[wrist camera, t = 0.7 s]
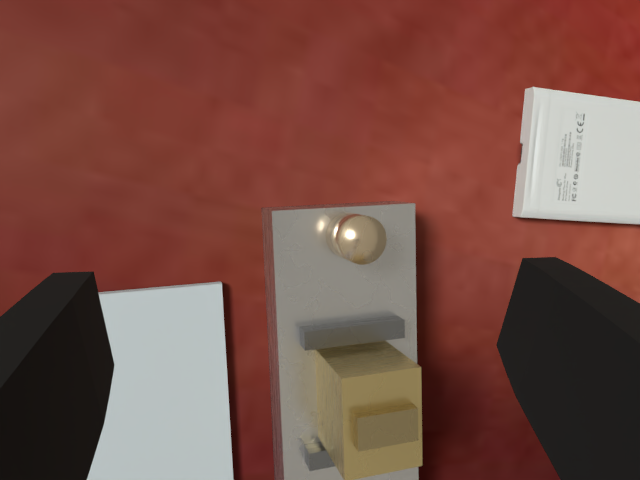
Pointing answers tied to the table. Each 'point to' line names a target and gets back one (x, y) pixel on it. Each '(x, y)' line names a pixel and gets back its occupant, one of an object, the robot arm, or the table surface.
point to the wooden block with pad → (369, 408)
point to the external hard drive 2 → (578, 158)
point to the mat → (166, 386)
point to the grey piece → (332, 311)
